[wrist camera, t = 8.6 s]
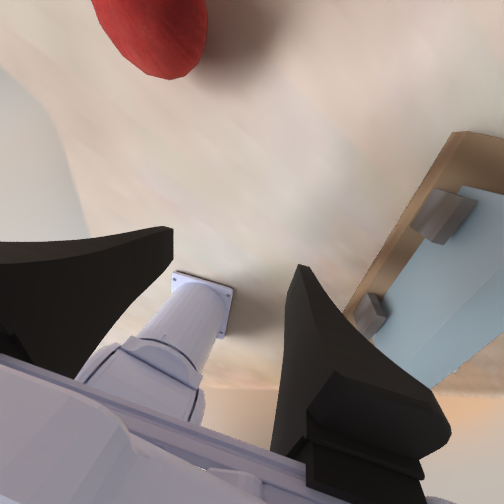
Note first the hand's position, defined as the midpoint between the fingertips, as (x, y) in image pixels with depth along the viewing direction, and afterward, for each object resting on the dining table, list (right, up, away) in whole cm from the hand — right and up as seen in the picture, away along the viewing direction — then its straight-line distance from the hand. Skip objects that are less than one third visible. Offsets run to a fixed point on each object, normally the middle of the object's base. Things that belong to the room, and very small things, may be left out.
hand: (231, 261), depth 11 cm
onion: (-4, +16, +3) cm, 17 cm away
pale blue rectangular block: (+16, -1, +6) cm, 17 cm away
